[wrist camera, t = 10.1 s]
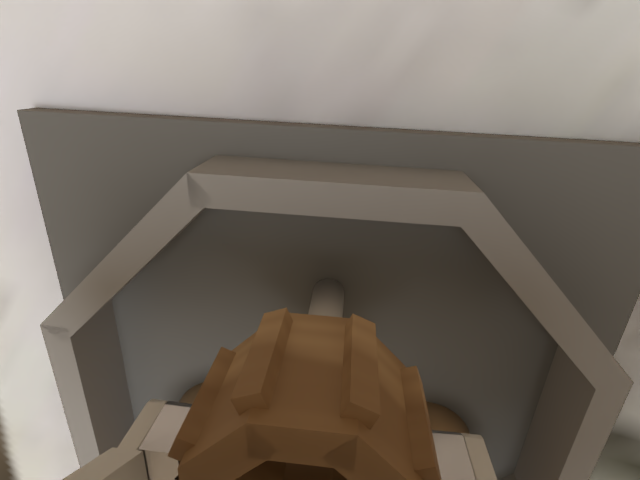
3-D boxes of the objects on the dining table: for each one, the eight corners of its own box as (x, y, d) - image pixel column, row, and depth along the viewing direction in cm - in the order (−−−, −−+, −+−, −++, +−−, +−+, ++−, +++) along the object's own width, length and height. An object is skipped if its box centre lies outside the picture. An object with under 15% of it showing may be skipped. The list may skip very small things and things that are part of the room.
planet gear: (432, 312, 11) (467, 429, 8) (403, 466, 14) (419, 612, 10) (214, 293, 12) (146, 395, 8) (224, 446, 14) (177, 578, 10)
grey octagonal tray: (679, 145, 15) (860, 187, 10) (516, 555, 26) (559, 689, 20) (35, 107, 17) (-121, 126, 11) (126, 505, 27) (67, 615, 22)
